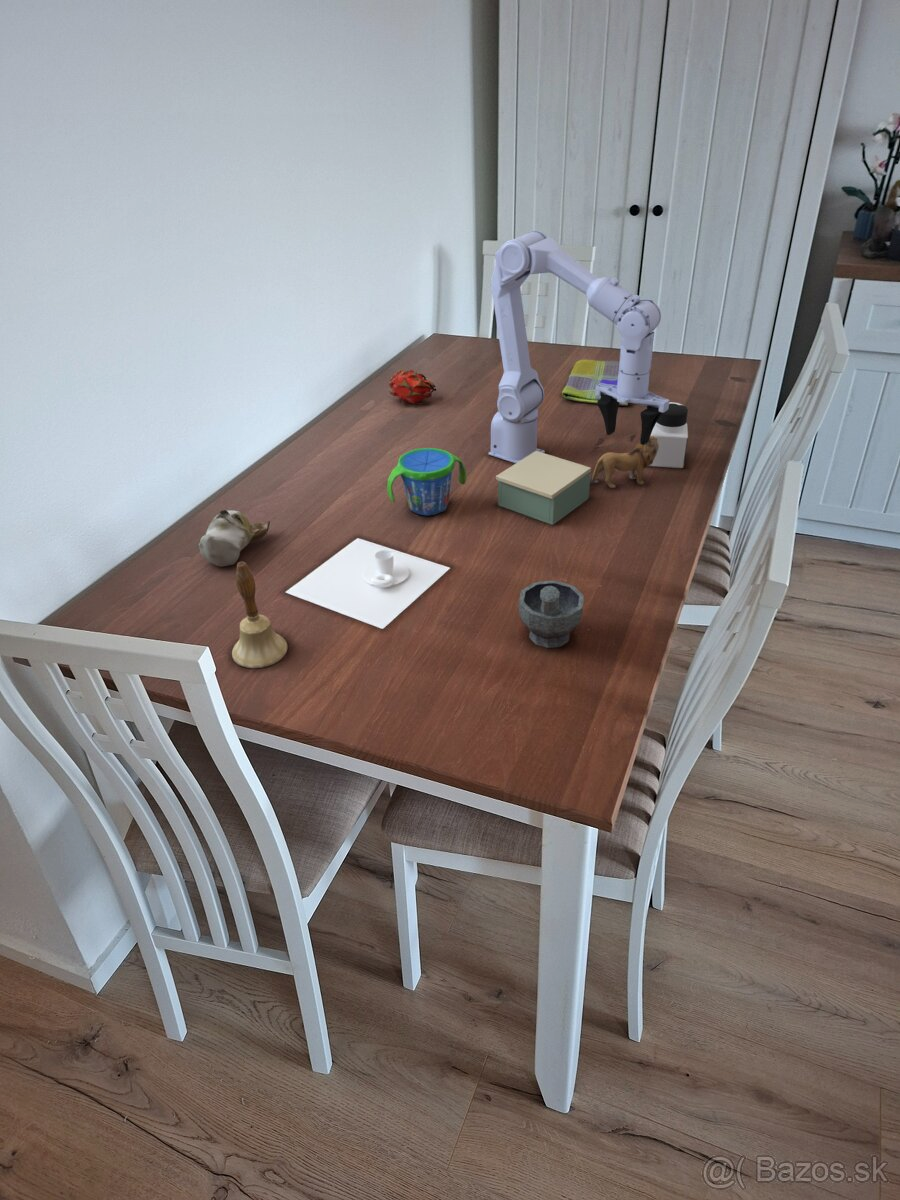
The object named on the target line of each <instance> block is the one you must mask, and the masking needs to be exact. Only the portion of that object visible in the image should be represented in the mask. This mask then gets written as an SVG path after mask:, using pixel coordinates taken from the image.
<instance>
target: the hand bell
mask: <svg viewBox="0 0 900 1200" xmlns="http://www.w3.org/2000/svg"><path fill="white" fill-rule="evenodd" d="M235 584H236V588H237V590H238V594H239V595H240V597H241V598H242V600H243V602H244V603H243V604H244V607H245V613H246V614H245V615H246V617H244V618H242V620H241V621H240V623H239V638H238V641H236V642H235V644H234V646H233V648H232V650H231V658H232V660H233V662H235V663H236V664H237V665H238V666H240V667H243V668H246V669H262V668H263V669H264V668H267V667H270V666H272V665H275V664H276V663H278V662H279V661H281V660H282V659H283V658H284V657H285V655H286V654H287V652H288V649H289V648H288V643H287V640H286V639H284V637H283V636H281V635H280V634H278V633H276V632H275V631H274V629H273V626H272V624H271V621H270V619H269V618H268V617H267V616H265V615H264V614H260V612H259V610H258V606H257V603H256V581H255V577H254V575H253V572H252V571H251V569H250V568H249V566H248V564H247V562H245V561H239V562H237V563H236V571H235Z"/></svg>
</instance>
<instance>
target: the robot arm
mask: <svg viewBox="0 0 900 1200" xmlns="http://www.w3.org/2000/svg"><path fill="white" fill-rule="evenodd" d="M494 260H495V264H494V267H493V270H492V275H491V278H490V287H491V294H492V302H493V307H494V308H493V309H494V314H495V321H496V327H497V334H498V341H499V348H500V354H501V361H502V368H503V374H502V376H501V378H500V380H499V381H500V382H499V384H498V386H497V387H498V398H497V400H496V407H497V412H496V413H495V414H494V415H493V417H492V420H491V424H490V451H488V456H492V457H494V458H498V459H500V460H504V461H507V462H510V463H513V464H516V463H517V462H519V461H521V460H522V459H524V458H525V457H527V456H528V455H530V454H532V453H533V452H535V451H538V452H542V453H545V452H546V451H545V450H544V449H541V448H538V426H539V424H538V423H539V406H541V405H542V404H543V402H544V400H545V389H544V387H543V385H542V383H541V382H540V379H539V373H538V372H537V371H536V370H535V369H534V368H532V365H531V358H530V352H529V344H528V342H529V341H528V336H527V335H528V334H527V327H526V321H525V313H524V308H523V307H524V305H523V297H522V291H521V287H522V286H523V284H524V283H525V281H526V280H527V279H528V277H529V276H530V275H537V274H547V273H551V274H552V275H553V276H555V277H557V278H559V279H560V280H562V281H563V282H565V283H566V284H568V285H570V286H571V287H573V288H575V289H576V290H577V291H579V292H581V293H583V294H584V295H586V299H587V304H588V306H590V307H591V308H592V309H593V310H595V311H597V312H598V313H599V314H601V315H602V316H603V317H605V318H606V319H608V320H609V321H611V322H612V323H613V324H615V325H616V326H617V330H618V333H619V334H620V336H621V345H620V353H619V361H620V362H619V372H618V383H617V385H610V384H604V383H600V384H599V385H597V386H596V392H595V395H596V396H601V398H600V400H598V401H597V403H596V405H597V407H598V409H599V410H600V413H601V416H602V418H603V422H604V427H605V433H606V435H607V436H610V435H613V433H615V431H616V429H617V417H618V410H619V407H620V405H619V403H620V402H621V403H628V404H633V405H637V406H642V407H646V408H645V409H644V410H642V411H641V412H640V421H641V431H640V438H639V442H640V444H642V445H644V444H646V443H647V442H649V438H650V436H651V433H652V430H653V428H654V426H655V424H656V422H657V421H658V419H659V417H660V416H661V414H662V413H664V412H665V411H667V410H668V408H669V402H670V399H668V398H665V397H663V396H660V395H657V394H656V393H653V392H652V391H649V385H650V375H651V369H652V368H651V367H652V360H653V350H654V339H655V331H654V330H656V329H657V328H658V326H659V325H660V322H661V319H662V314H661V310H660V308H659V306H658V305H657V304H656V303H655V302H654V300H653V299H650V298H641V297H640V295H638V294H633V292H630V291H629V290H627V289H626V288H625V287H623V286H622V285H621V284H620V280H619V279H617V278H616V277H612V278H611V277H609V276H603V277H597V276H596V275H594V274H593V273H592V272H590V270H589V269H587V268H586V266H585V267H584V266H583V265H582V264H581V263H580V262H579V261H577V260H576V259H574V258H573V257H572V256H571V255H570V254H568V253H567V252H566V251H565V250H563V249H562V248H561V247H560V246H559V244H558V243H557V241H556V240H555V239H554V238H552V237H550V236H547V235H546V234H545V233H544V232H543V231H540V230H536V229H534V230H530V231H528V232H527V233H525V234H522V235H521V236H518V237H516V238H514V239H509V240H506V241H505V242H504V243H503V244H502V245H501V246H500V247H499V248H498V250H497V251H496V252H495V253H494ZM545 454H546V453H545Z"/></svg>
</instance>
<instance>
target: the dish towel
mask: <svg viewBox="0 0 900 1200" xmlns="http://www.w3.org/2000/svg"><path fill="white" fill-rule="evenodd" d="M619 362H620V360H595V359H589V358H587V359H580V360H577V361H576V362H575V363H574V364H573V367H572V369H571V372H570V374H569V376H568V379H567V381H566V384H565V386H564V388H562V392H561V397H562V398H564V399H565V400H568V401H573V402H579V403H585V404H586V403H588V404H597V401H598V400H600V398H601V396H596V395H595V392H596V386H597V385H599V384H600V383H604V384H610V385H617V383H618V372H619ZM619 406H625V407H628V406H629V403H621V402H620V403H619Z"/></svg>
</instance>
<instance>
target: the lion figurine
mask: <svg viewBox="0 0 900 1200" xmlns="http://www.w3.org/2000/svg"><path fill="white" fill-rule="evenodd" d="M658 448H659V445H658V442H657V438H655V437H654V436H651V435H650V438H649V442H647V443H646V444H644V445H642V444H640V441H639V442H638V444H636V445H635V446H634V448H633V449H632V450H631V451H629V452H623V453H617V452H612V451H611V452H605V453H603V454H602V455H601V456H600V457H599V458H598V460H597V462H596V465H595V467H594V469H593V472H592V477H591V480H590V486H589V487H592V486H593V485H594V484H597V483H599V479H598V478H597V477H598V476H599V475H600V474H601V473H603V472H605V479H604V482H605V483H606V484H607V486H608V487H609V488H610V489H616V484H615V483H612V477H613V476H614V473H615V469H616V470H618V471H621V472H629V476H628V477H629V478H630V479H631V480H635V479H636V482H637V484H638V485H644V484H645V481H644V480H643V479H642V478H643V475H644V473H645V469H646V468H648V467H651V466H650V465H651V464H652V463H653V461H654V459H655V456H656V454H657V451H658ZM635 472H636V474H635Z"/></svg>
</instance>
